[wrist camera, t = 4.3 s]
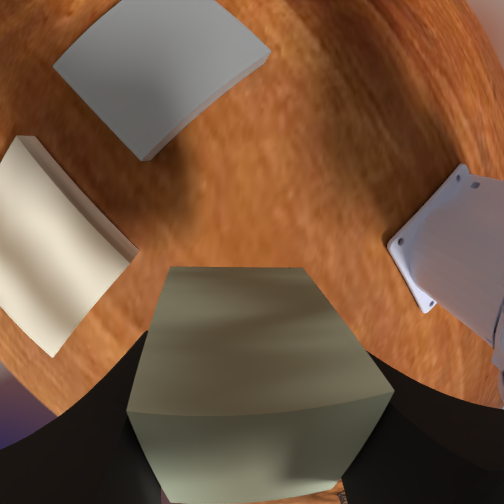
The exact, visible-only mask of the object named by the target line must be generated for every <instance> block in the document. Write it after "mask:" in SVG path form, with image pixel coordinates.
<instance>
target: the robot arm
mask: <svg viewBox="0 0 504 504" xmlns="http://www.w3.org/2000/svg"><path fill="white" fill-rule="evenodd" d="M456 177H457V179H456ZM400 238H401V241H400V243H398V240H399V239H400ZM387 249H388V251H389V253H390V254H391V256H392V258H393V260H394V261H395V263H396V265H397V267H398V268H399V270H400V272H401V274H402V276H403V277H404V279H405V281H406V283H407V285H408V287H409V288H410V290H411V292H412V294H413V296H414V298H415V300H416V302H417V304H418V306H419V308H420V310H421V311H422V312H423V313H427V312H429V311H430V310H431V309H432V307H433V306H434V305H435V304H436V303H438V304H440V305H441V306H442V307H444V308H445V309H446V310H447V311H449V312H450V313H451V314H452V315H454V316H455V317H456V318H457V319H459V320H460V321H461V322H462V323H464V324H465V325H466V326H467V327H469V328H470V329H471V330H472V331H473V332H475V333H476V334H477V335H478V336H479V337H481V338H482V339H483V340H484V341H485V342H486V343H488V344H489V345H490V346H491V347H492V348H493V349H494V353H493V356H492V358H491V362H492V363H493V364H494V365H495V366H496V367H497V368H498V369H499V370H500V371H499V374H498V389H499V393H500V396H501V398H502V400H503V403H504V181H502V180H497V179H493V178H488V177H484V176H479V175H474V174H470V173H469V170H468V168H467V166H466V165H465V164H460V165H459V166H458V167H457V168H456V169H455V170H454V172H453V173H452V174H451V175H450V176H449V177H448V179H447V180H446V181H445V182H444V183H443V184H442V185H441V187H440V188H439V189H438V190H437V191H436V192H435V193H434V194H433V195H432V197H431V198H430V199H429V200H428V201H427V202H426V203H425V204H424V205H423V206H422V207H421V208H420V210H419V211H418V212H417V213H416V214H415V215H414V216H413V217H412V218H411V219H410V220H409V221H408V222H407V223H406V224H405V225H404V226H403V227H402V228H401V229H400V230H399V231H398V232H397V233H396V234H395V235H394V236H393V237H392V238H391V239H390V240H389V242H388V244H387ZM147 334H148V331H145V332H144V333H143V334H142V336H141V337H140V338H139V339H138V340H137V341H136V342H135V344H134V345H133V346H132V347H131V348H130V349H129V350H128V352H127V353H126V354H125V355H124V356H123V357H122V358H121V359H120V361H119V362H118V363H117V364H116V365H115V366H114V367H113V368H112V369H111V370H110V371H109V372H108V373H107V374H106V376H105V377H104V378H102V379H101V380H100V381H99V382H98V383H97V384H96V385H95V386H94V387H93V388H92V389H91V390H90V391H89V392H88V393H87V394H86V395H85V396H84V397H82V398H81V399H80V400H79V401H78V402H77V403H75V404H74V405H73V406H72V407H71V408H69V409H68V410H67V411H65V412H64V413H63V414H62V415H60V416H59V417H57V418H56V419H54V420H53V421H51V422H50V423H48V424H47V425H45V426H44V427H42V428H41V429H39V430H37V431H36V432H34V433H33V434H31V435H29V436H28V437H26V438H24V439H22V440H20V441H18V442H16V443H14V444H12V445H10V446H8V447H6V448H3V449H1V450H0V504H161V485H160V483H159V482H158V480H157V478H156V476H155V474H154V472H153V470H152V468H151V466H150V464H149V462H148V460H147V458H146V456H145V454H144V452H143V449H142V447H141V445H140V443H139V441H138V438H137V436H136V434H135V431H134V429H133V426H132V424H131V422H130V419H129V416H128V414H127V411H126V410H127V406H128V402H129V398H130V394H131V391H132V387H133V383H134V379H135V376H136V372H137V368H138V365H139V361H140V358H141V354H142V351H143V348H144V344H145V341H146V338H147ZM366 352H367V353H368V354H369V356H370V357H371V358H372V360H373V361H374V363H375V364H376V365H377V367H378V368H379V369H380V371H381V372H382V374H383V375H384V376H385V378H386V379H387V381H388V382H389V383H390V385H391V386H392V388H393V389H394V390H395V391H394V393H393V395H392V397H391V399H390V401H389V403H388V405H387V406H386V408H385V410H384V412H383V414H382V415H381V417H380V419H379V421H378V422H377V424H376V426H375V427H374V429H373V431H372V432H371V434H370V436H369V437H368V439H367V440H366V442H365V444H364V445H363V447H362V448H361V450H360V451H359V453H358V454H357V456H356V457H355V459H354V460H353V461H352V463H351V464H350V466H349V467H348V468H347V470H346V471H345V473H344V474H343V475H342V477H341V479H342V482H343V486H344V490H345V494H346V498H347V502H348V504H504V410H503V409H497V408H492V407H486V406H482V405H478V404H474V403H470V402H467V401H464V400H461V399H457V398H454V397H452V396H449V395H446V394H444V393H441V392H439V391H436V390H434V389H432V388H430V387H428V386H425V385H423V384H421V383H419V382H417V381H415V380H413V379H411V378H410V377H408V376H406V375H404V374H403V373H401V372H399V371H397V370H396V369H394V368H392V367H391V366H389V365H387V364H386V363H384V362H383V361H381V360H380V359H378V358H377V357H375V356H374V355H372V354H371V353H369V352H368V351H366Z"/></svg>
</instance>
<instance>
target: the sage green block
mask: <svg viewBox="0 0 504 504" xmlns="http://www.w3.org/2000/svg"><path fill="white" fill-rule="evenodd" d="M394 391H395V390H394V389H393V388H392V386H391V385H390V383H389V382H388V381H387V379H386V378H385V376H384V375H383V374H382V372H381V371H380V369H379V368H378V367H377V365H376V364H375V363H374V361H373V360H372V358H371V357H370V356H369V354H368V353H367V352H366V350H365V349H364V347H363V346H362V345H361V343H360V342H359V341H358V339H357V338H356V337H355V335H354V334H353V333H352V331H351V330H350V329H349V327H348V326H347V325H346V323H345V322H344V321H343V319H342V318H341V317H340V315H339V314H338V313H337V311H336V310H335V309H334V307H333V306H332V305H331V304H330V302H329V301H328V300H327V298H326V297H325V296H324V294H323V293H322V292H321V290H320V289H319V288H318V287H317V285H316V284H315V283H314V281H313V280H312V279H311V278H310V276H309V275H308V274H307V272H306V271H305V270H304V269H303V268H248V267H171V266H170V269H169V272H168V274H167V277H166V280H165V283H164V286H163V289H162V292H161V294H160V297H159V300H158V303H157V306H156V309H155V312H154V315H153V319H152V322H151V325H150V328H149V331H148V334H147V338H146V341H145V344H144V348H143V351H142V354H141V358H140V361H139V365H138V368H137V372H136V376H135V379H134V383H133V387H132V391H131V394H130V398H129V402H128V406H127V410H126V411H127V414H128V416H129V419H130V422H131V424H132V426H133V429H134V431H135V434H136V436H137V438H138V441H139V443H140V445H141V447H142V449H143V452H144V454H145V456H146V458H147V460H148V462H149V464H150V466H151V468H152V470H153V472H154V474H155V476H156V478H157V480H158V482H159V483H160V485H161V487H162V489H163V491H164V492H165V494H166V496H167V498H168V499H169V501H170V502H172V503H188V504H233V503H249V502H260V501H269V500H277V499H284V498H290V497H296V496H301V495H307V494H312V493H316V492H321V491H325V490H329V489H332V488H333V487H334V486H335V484H336V483H337V482H338V481H339V479H340V478H341V477H342V475H343V474H344V473H345V471H346V470H347V468H348V467H349V466H350V464H351V463H352V461H353V460H354V459H355V457H356V456H357V454H358V453H359V451H360V450H361V448H362V447H363V445H364V444H365V442H366V440H367V439H368V437H369V436H370V434H371V432H372V431H373V429H374V427H375V426H376V424H377V422H378V421H379V419H380V417H381V415H382V414H383V412H384V410H385V408H386V406H387V405H388V403H389V401H390V399H391V397H392V395H393V393H394Z"/></svg>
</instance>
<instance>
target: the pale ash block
mask: <svg viewBox="0 0 504 504" xmlns="http://www.w3.org/2000/svg"><path fill="white" fill-rule="evenodd" d="M138 252H139V250H138V249H137V248H136V247H135V246H134V245H133V244H132V243H131V242H130V241H129V240H128V239H127V238H126V237H125V236H124V235H123V234H122V233H121V232H120V231H119V230H118V229H117V228H116V227H115V226H114V225H113V224H112V223H111V222H110V221H109V220H108V219H107V217H106V216H105V215H104V214H103V213H102V212H101V211H100V210H99V209H98V208H97V207H96V206H95V205H94V204H93V203H92V202H91V201H90V199H89V198H88V197H87V196H86V195H85V194H84V193H83V192H82V191H81V190H80V189H79V187H78V186H77V185H76V184H75V183H74V182H73V181H72V180H71V178H70V177H69V176H68V175H67V174H66V173H65V172H64V170H63V169H62V168H61V167H60V166H59V165H58V163H57V162H56V161H55V160H54V159H53V157H52V156H51V155H50V154H49V153H48V151H47V150H46V149H45V148H44V147H43V145H42V144H41V143H40V142H39V140H38V139H37V138H36V137H35V136H18V135H16V137H15V139H14V140H13V142H12V144H11V145H10V147H9V149H8V150H7V152H6V154H5V156H4V158H3V159H2V161H1V163H0V306H1V307H2V309H3V310H4V311H5V312H6V313H7V314H8V315H9V316H10V317H11V319H12V320H13V321H14V322H15V323H16V324H17V325H18V326H19V327H20V328H21V329H22V330H23V331H24V332H25V333H26V334H27V335H28V336H29V337H30V338H31V339H32V340H33V341H34V342H35V343H36V344H37V345H39V346H40V347H41V348H42V349H43V350H44V351H45V352H46V353H47V354H48V355H50V356H51V357H52V358H53V357H54V356H55V354H56V353H57V352H58V350H59V349H60V348H61V346H62V345H63V344H64V342H65V341H66V340H67V338H68V337H69V336H70V334H71V333H72V332H73V331H74V329H75V328H76V327H77V326H78V324H79V323H80V322H81V321H82V319H83V318H84V317H85V316H86V314H87V313H88V312H89V311H90V309H91V308H92V307H93V306H94V305H95V303H96V302H97V301H98V300H99V299H100V297H101V296H102V295H103V294H104V293H105V292H106V290H107V289H108V288H109V287H110V286H111V285H112V283H113V282H114V281H115V280H116V279H117V278H118V277H119V275H120V274H121V273H122V272H123V271H124V270H125V269H126V268H127V267H128V265H129V264H130V263H131V262H132V260H133V259H134V258H135V256H136V255H137V253H138Z"/></svg>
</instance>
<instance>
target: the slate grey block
mask: <svg viewBox="0 0 504 504" xmlns="http://www.w3.org/2000/svg"><path fill="white" fill-rule="evenodd" d="M270 53H271V50H270V49H269V48H268V47H267V46H266V45H265V44H264V43H263V42H262V41H261V40H260V39H259V38H257V37H256V36H255V35H254V34H253V33H252V32H251V31H250V30H249V29H248V28H247V27H245V26H244V25H243V24H242V23H241V22H240V21H239V20H237V19H236V18H235V17H234V16H233V15H232V14H230V13H229V12H228V11H227V10H226V9H224V8H223V7H222V6H221V5H219V4H218V3H217V2H216V1H214V0H122V1H121V2H119V3H118V4H117V5H115V6H114V7H113V8H112V9H110V10H109V11H108V12H107V13H106V14H104V15H103V16H102V17H101V18H100V19H99V20H97V21H96V22H95V23H94V24H93V25H92V26H91V27H90V28H89V29H88V30H87V31H85V32H84V33H83V34H82V35H81V36H80V37H79V38H78V39H77V40H76V41H75V42H74V43H73V44H72V45H71V46H70V47H69V48H68V49H67V51H66V52H65V53H64V54H63V55H62V56H61V57H60V58H59V59H58V60H57V61H56V63H55V64H54V65H53V66H52V67H53V68H54V69H55V70H56V71H57V72H58V73H59V74H60V76H61V77H62V78H63V79H64V80H65V81H66V82H67V83H68V84H69V85H70V86H71V88H72V89H73V90H74V91H75V92H76V93H77V94H78V95H79V96H80V97H81V98H82V99H83V100H84V102H85V103H86V104H87V105H88V106H89V107H90V108H91V109H92V110H93V111H94V112H95V113H96V114H97V115H98V117H99V118H100V119H101V120H102V121H103V122H104V123H105V124H106V125H107V126H108V127H109V128H110V129H111V130H112V131H113V132H114V133H115V135H116V136H117V137H118V138H119V139H120V140H121V141H122V142H123V143H124V144H125V145H126V146H127V147H128V148H129V149H130V150H131V151H132V152H133V153H134V154H135V155H136V157H137V158H138V159H139V160H140V161H150V160H151V159H152V158H153V157H154V156H155V155H156V154H157V153H158V152H159V151H160V150H161V149H162V148H163V147H164V146H165V145H167V144H168V143H169V142H170V141H171V140H172V139H173V138H174V137H175V136H176V135H177V134H178V133H179V132H180V131H181V130H182V129H183V128H185V127H186V126H187V125H188V124H189V123H190V122H191V121H192V120H193V119H195V118H196V117H197V116H198V115H199V114H200V113H201V112H203V111H204V110H205V109H206V108H207V107H208V106H210V105H211V104H212V103H213V102H214V101H216V100H217V99H218V98H219V97H221V96H222V95H223V94H224V93H226V92H227V91H228V90H229V89H231V88H232V87H233V86H234V85H236V84H237V83H238V82H240V81H241V80H242V79H244V78H245V77H246V76H248V75H249V74H250V73H252V72H253V71H255V70H256V69H257V68H259V67H260V66H262V65H263V64H264V63H265V61H266V60H267V58H268V56H269V55H270Z"/></svg>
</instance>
